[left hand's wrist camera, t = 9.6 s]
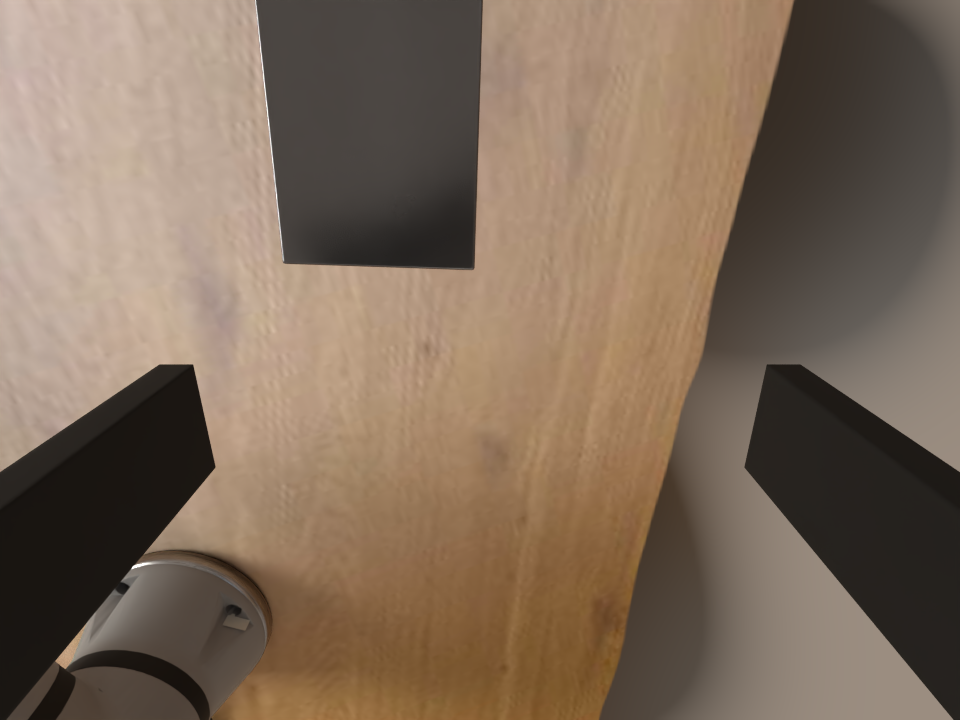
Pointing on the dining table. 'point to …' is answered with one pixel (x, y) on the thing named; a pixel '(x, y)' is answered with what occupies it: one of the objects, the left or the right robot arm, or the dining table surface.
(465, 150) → the box
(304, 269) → the dining table surface
